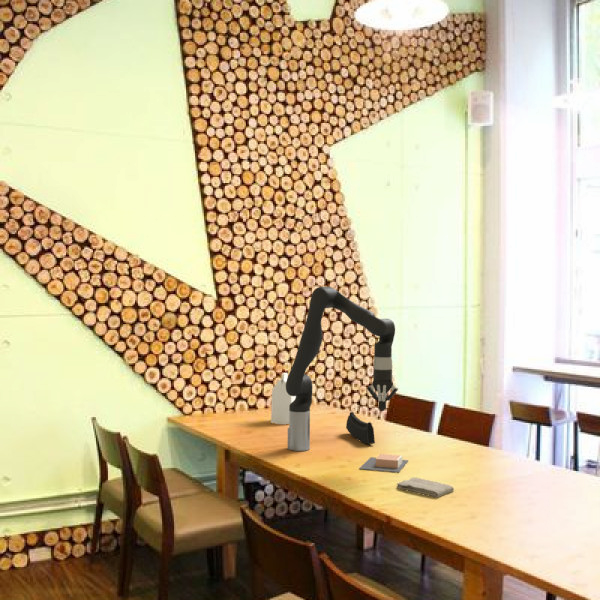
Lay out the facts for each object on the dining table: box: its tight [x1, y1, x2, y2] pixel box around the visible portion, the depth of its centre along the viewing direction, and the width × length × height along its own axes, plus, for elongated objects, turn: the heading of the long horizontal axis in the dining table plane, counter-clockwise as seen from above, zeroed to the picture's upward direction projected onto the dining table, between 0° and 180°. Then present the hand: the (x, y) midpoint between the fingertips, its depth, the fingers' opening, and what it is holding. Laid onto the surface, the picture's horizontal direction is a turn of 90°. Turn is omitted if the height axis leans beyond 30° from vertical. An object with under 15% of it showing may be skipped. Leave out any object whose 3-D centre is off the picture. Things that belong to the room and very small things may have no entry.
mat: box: [358, 456, 409, 474], centre depth 299 cm, size 16×20×1 cm
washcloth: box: [396, 477, 455, 498], centre depth 264 cm, size 12×18×3 cm, turn 49°
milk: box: [270, 372, 296, 425], centre depth 391 cm, size 12×12×26 cm
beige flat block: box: [375, 453, 403, 468], centre depth 298 cm, size 3×9×9 cm
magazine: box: [345, 411, 376, 445], centre depth 348 cm, size 17×3×30 cm
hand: (382, 410), depth 299 cm, fingers closed
